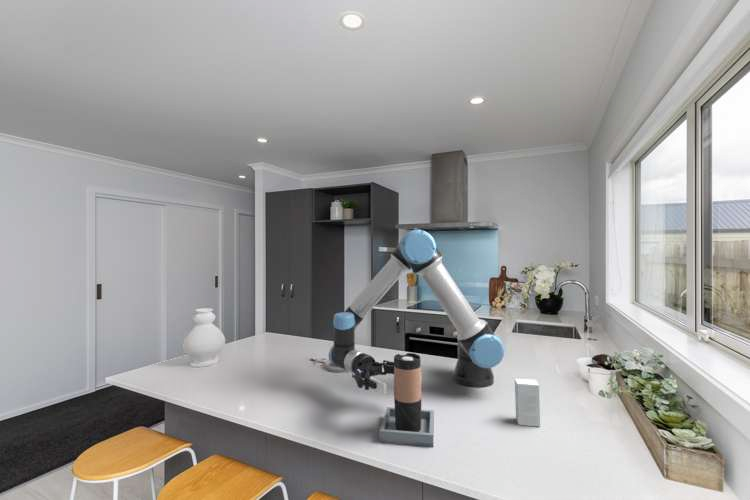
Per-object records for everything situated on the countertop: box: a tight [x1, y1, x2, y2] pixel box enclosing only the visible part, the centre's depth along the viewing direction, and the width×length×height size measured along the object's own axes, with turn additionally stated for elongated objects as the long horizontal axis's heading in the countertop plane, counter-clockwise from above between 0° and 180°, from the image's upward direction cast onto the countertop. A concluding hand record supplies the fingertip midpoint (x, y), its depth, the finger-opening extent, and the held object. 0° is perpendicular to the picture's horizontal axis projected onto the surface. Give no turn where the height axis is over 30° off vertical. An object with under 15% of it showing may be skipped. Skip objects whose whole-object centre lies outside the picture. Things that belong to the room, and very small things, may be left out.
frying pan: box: [308, 357, 349, 374], centre depth 154 cm, size 17×3×28 cm
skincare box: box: [514, 378, 541, 428], centre depth 99 cm, size 6×4×12 cm
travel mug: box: [393, 352, 422, 432], centre depth 96 cm, size 8×8×20 cm
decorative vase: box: [182, 307, 226, 368], centre depth 159 cm, size 18×18×25 cm
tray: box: [379, 406, 435, 448], centre depth 96 cm, size 14×14×3 cm
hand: (403, 382), depth 97 cm, fingers open, 13 cm apart
